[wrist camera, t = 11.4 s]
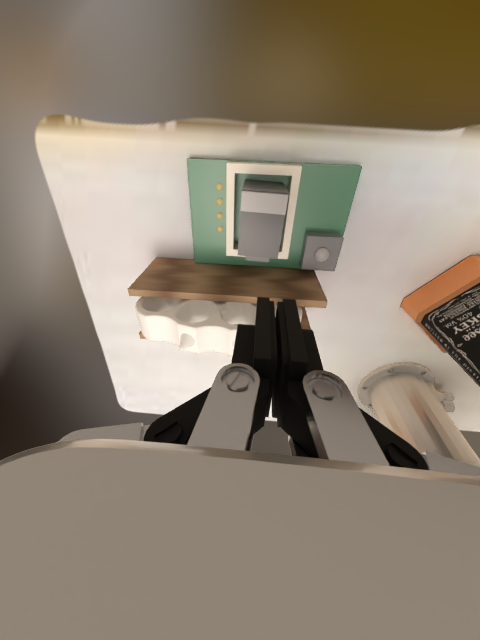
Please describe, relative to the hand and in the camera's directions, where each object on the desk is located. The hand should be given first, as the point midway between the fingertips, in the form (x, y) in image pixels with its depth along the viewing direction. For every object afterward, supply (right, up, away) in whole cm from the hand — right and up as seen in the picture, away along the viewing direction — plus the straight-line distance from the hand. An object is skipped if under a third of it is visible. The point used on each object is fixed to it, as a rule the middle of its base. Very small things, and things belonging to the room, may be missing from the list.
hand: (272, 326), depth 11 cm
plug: (+1, +13, +17) cm, 21 cm away
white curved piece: (-3, +6, +24) cm, 25 cm away
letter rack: (-2, +5, +24) cm, 25 cm away
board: (+2, +13, +18) cm, 22 cm away
